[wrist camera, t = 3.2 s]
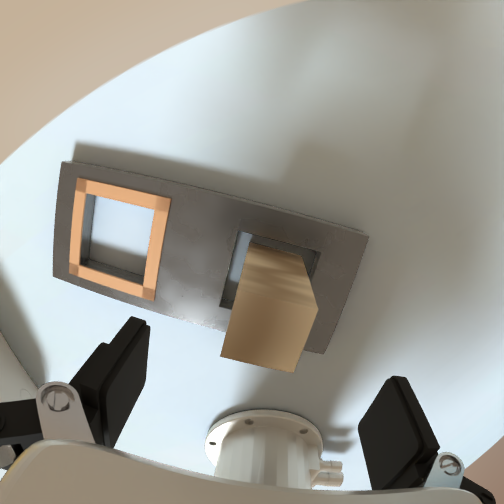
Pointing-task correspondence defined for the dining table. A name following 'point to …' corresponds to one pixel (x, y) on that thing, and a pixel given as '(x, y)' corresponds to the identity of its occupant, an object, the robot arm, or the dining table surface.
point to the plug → (270, 310)
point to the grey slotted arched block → (13, 377)
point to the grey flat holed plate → (195, 247)
